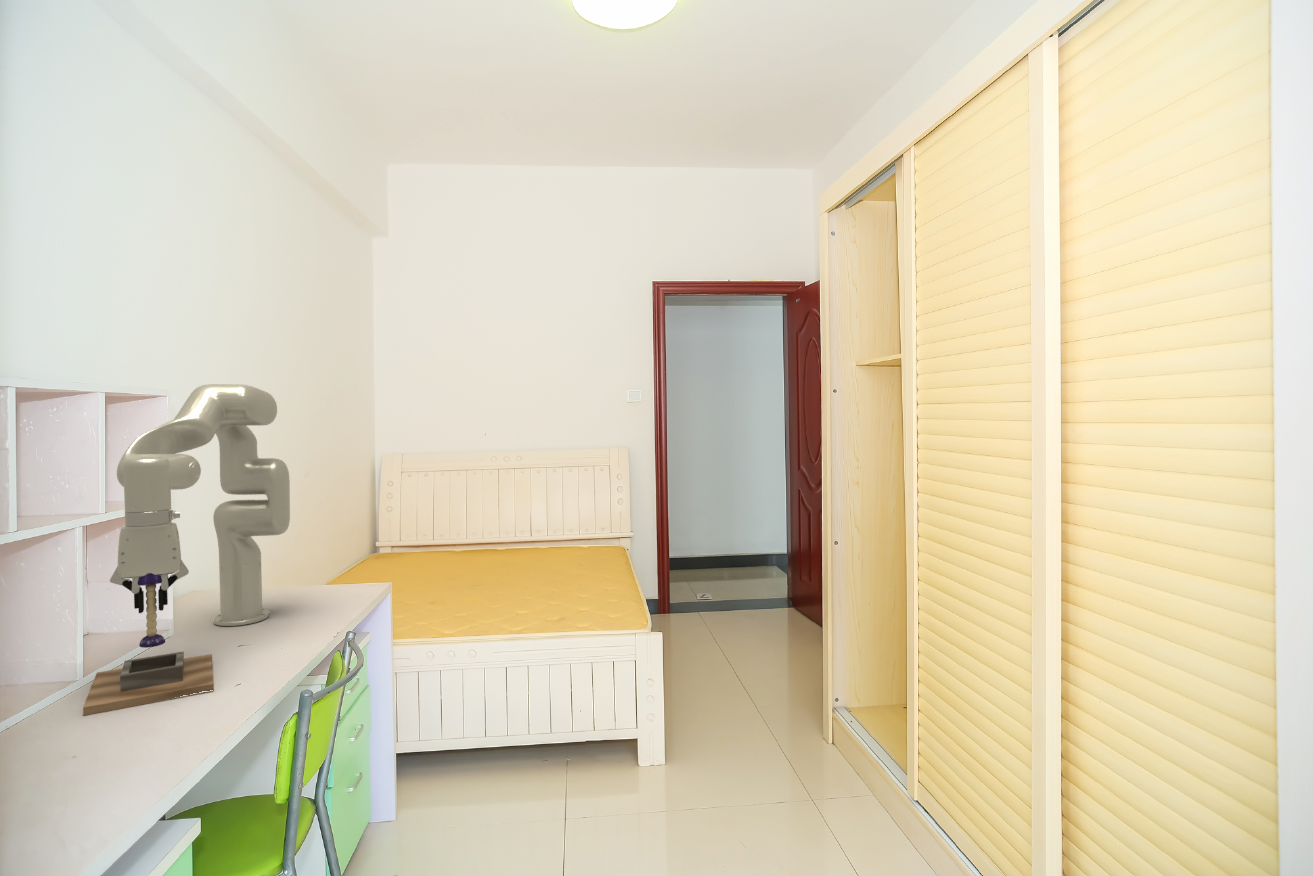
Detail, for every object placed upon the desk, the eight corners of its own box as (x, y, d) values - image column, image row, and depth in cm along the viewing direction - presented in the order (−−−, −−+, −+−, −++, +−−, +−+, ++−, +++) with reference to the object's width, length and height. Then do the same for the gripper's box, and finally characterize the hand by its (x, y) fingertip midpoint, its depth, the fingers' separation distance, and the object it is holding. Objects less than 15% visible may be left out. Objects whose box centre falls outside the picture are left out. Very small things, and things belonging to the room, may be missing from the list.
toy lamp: (172, 642, 142) (169, 560, 141) (149, 649, 137) (145, 565, 137) (155, 639, 143) (152, 559, 143) (132, 647, 139) (128, 564, 138)
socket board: (97, 679, 144) (96, 658, 144) (212, 660, 155) (211, 640, 155) (83, 715, 127) (82, 691, 127) (213, 691, 138) (212, 668, 138)
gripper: (197, 513, 147) (199, 600, 148) (99, 520, 138) (102, 612, 139) (197, 518, 141) (199, 608, 141) (94, 525, 132) (97, 621, 133)
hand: (151, 609), depth 140 cm, fingers closed on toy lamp, 2 cm apart
